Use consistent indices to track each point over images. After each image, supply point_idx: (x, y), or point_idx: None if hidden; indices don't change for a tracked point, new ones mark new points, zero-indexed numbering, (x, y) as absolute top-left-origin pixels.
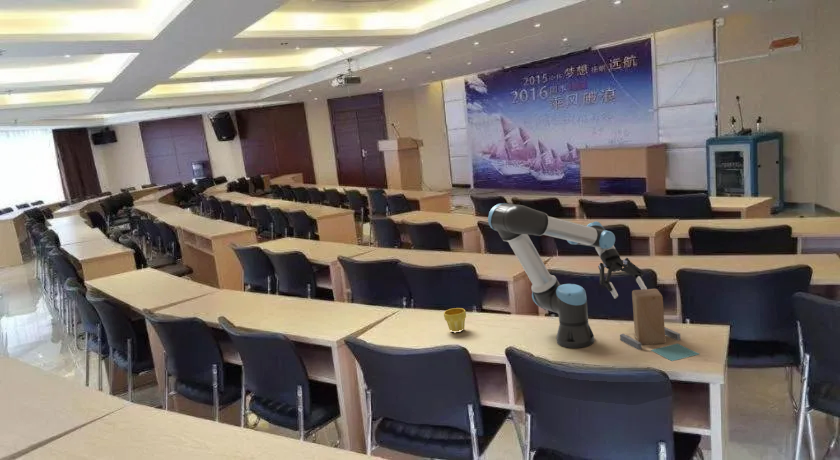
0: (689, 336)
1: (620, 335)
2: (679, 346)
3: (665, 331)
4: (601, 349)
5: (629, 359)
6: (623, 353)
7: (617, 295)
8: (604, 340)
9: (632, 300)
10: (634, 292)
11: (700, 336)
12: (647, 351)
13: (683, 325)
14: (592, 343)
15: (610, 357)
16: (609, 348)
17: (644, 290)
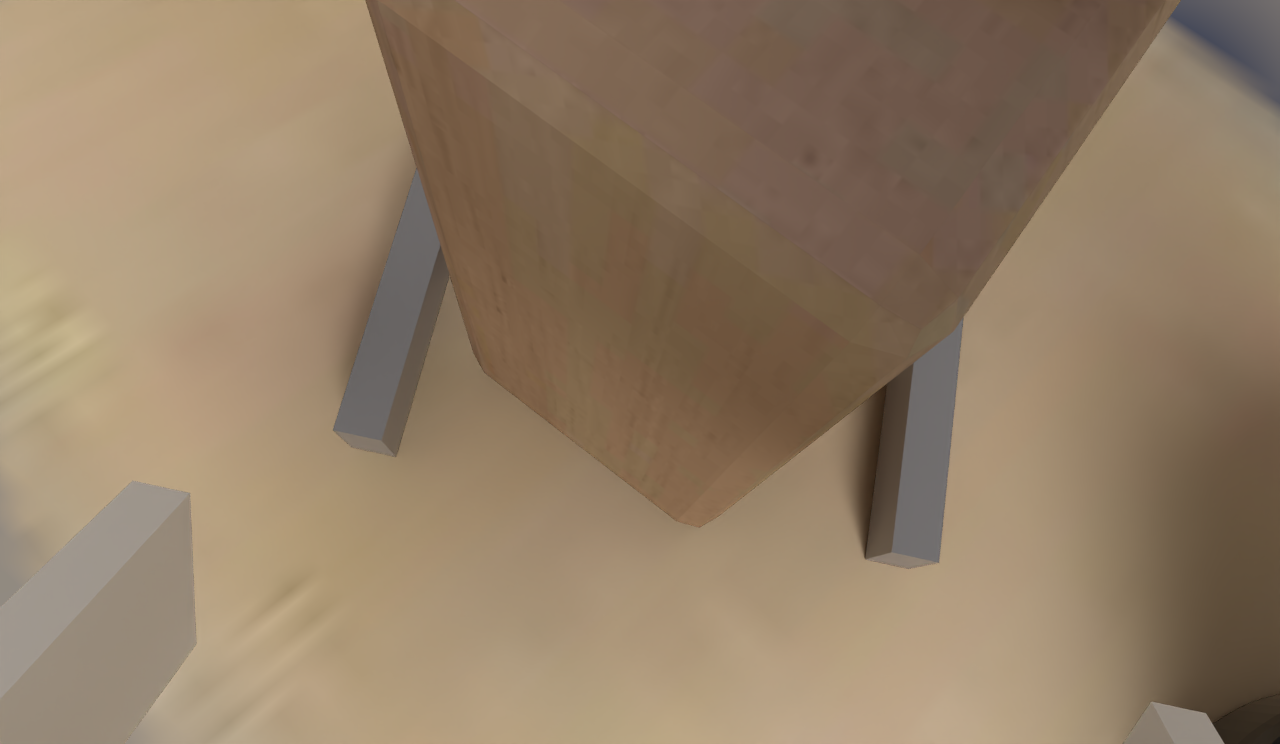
0: (305, 134)
1: (934, 551)
2: None
3: (431, 297)
4: (1230, 517)
5: (1149, 166)
6: (1110, 291)
7: (1168, 718)
8: (1053, 701)
9: (872, 393)
10: (1045, 131)
11: (237, 64)
12: None
13: (17, 376)
14: (1240, 709)
15: (1265, 310)
16: (1146, 478)
17: (746, 13)
